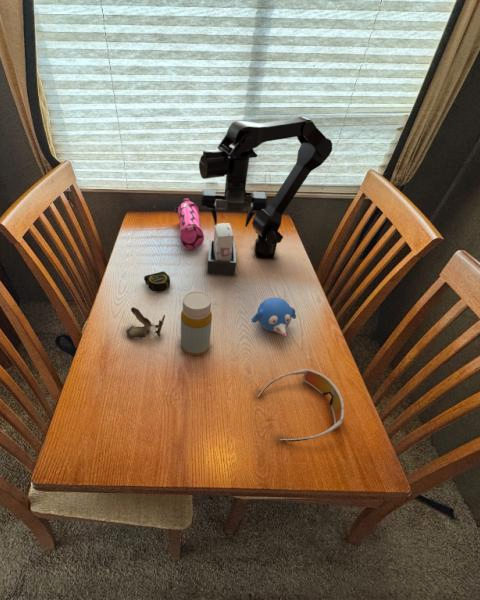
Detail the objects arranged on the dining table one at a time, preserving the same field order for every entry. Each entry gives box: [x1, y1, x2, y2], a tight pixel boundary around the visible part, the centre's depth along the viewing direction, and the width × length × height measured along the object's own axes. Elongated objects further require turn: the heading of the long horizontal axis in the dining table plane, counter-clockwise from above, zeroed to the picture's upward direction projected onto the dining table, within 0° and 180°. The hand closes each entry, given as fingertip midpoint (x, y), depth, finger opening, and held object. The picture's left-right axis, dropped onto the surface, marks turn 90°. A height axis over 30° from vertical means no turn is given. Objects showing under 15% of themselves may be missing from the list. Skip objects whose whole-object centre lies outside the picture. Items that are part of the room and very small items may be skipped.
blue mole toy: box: [251, 297, 297, 338], centre depth 81 cm, size 12×12×8 cm
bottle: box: [180, 290, 213, 356], centre depth 74 cm, size 7×7×15 cm
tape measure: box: [143, 271, 171, 293], centre depth 95 cm, size 7×7×4 cm
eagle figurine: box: [125, 306, 166, 339], centre depth 80 cm, size 8×7×9 cm
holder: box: [206, 239, 237, 277], centre depth 104 cm, size 9×13×5 cm
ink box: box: [213, 222, 234, 261], centre depth 102 cm, size 9×5×12 cm, turn 4°
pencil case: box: [173, 198, 205, 250], centre depth 116 cm, size 21×10×10 cm, turn 6°
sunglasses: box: [257, 368, 345, 442], centre depth 66 cm, size 14×15×5 cm
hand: (230, 225), depth 99 cm, fingers open, 9 cm apart
